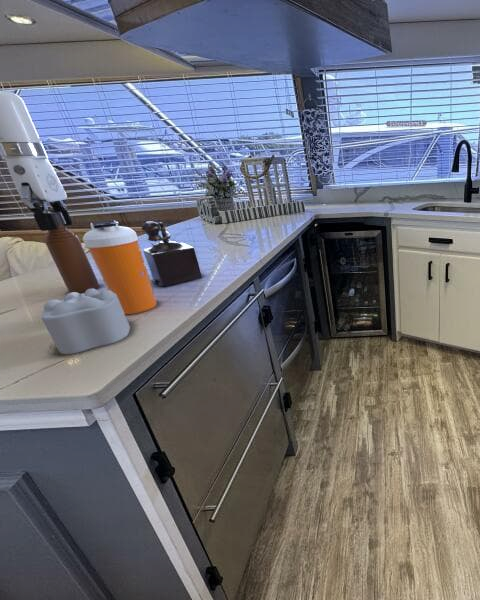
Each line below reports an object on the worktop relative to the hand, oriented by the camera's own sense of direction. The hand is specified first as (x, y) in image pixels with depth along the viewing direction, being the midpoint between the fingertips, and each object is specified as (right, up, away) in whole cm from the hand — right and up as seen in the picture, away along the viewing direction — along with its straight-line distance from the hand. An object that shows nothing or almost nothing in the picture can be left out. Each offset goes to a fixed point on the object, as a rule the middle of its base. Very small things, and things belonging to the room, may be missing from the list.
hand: (57, 227), depth 83 cm
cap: (0, 0, 0) cm, 1 cm away
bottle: (+1, -16, +7) cm, 17 cm away
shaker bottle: (+27, -21, -7) cm, 35 cm away
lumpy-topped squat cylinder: (+29, -26, -19) cm, 43 cm away
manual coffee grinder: (+25, -14, +10) cm, 30 cm away
